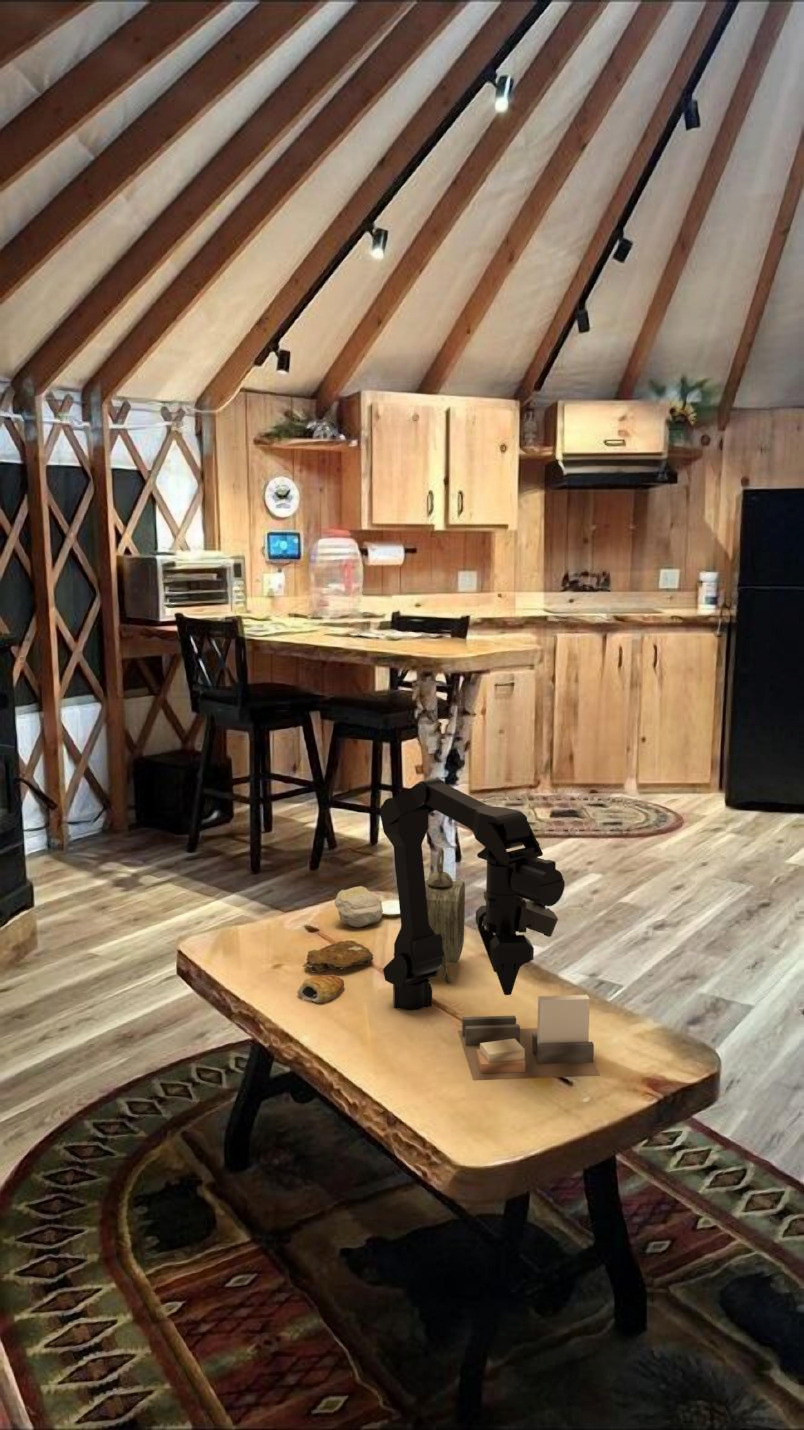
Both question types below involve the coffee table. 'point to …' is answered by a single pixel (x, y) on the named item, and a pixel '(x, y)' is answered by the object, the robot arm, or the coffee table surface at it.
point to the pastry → (321, 988)
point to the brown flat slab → (338, 956)
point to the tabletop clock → (446, 912)
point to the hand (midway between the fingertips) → (502, 983)
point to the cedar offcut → (499, 1065)
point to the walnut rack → (526, 1050)
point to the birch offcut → (502, 1051)
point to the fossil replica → (358, 907)
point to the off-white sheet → (563, 1019)
